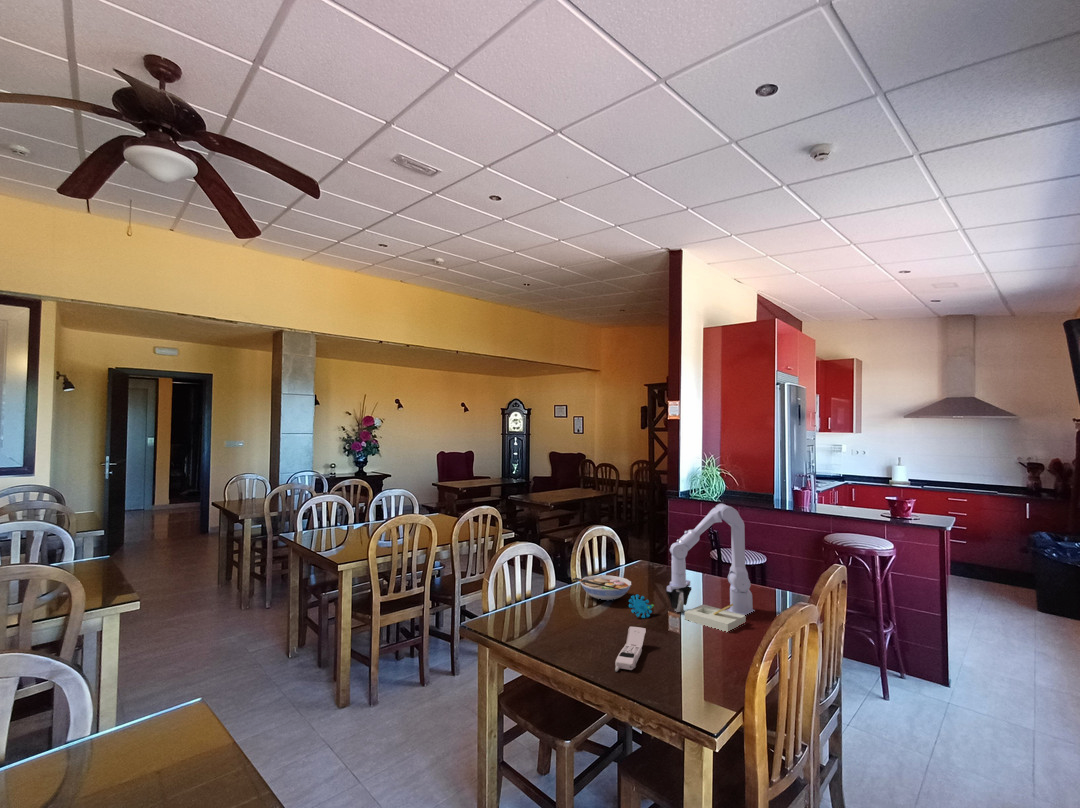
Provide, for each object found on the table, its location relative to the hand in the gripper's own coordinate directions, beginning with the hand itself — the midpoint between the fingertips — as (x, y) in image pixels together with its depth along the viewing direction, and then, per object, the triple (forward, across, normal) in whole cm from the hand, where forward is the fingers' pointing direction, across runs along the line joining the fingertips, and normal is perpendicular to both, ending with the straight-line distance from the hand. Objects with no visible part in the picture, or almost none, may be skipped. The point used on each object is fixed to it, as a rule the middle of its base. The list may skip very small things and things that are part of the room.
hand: (679, 606), depth 212 cm
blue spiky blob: (+2, +16, -7) cm, 18 cm away
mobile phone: (+2, +51, +15) cm, 53 cm away
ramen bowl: (+2, +10, -31) cm, 33 cm away
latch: (-3, 0, +20) cm, 20 cm away
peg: (+2, 0, 0) cm, 2 cm away
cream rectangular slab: (+2, 0, +16) cm, 16 cm away
